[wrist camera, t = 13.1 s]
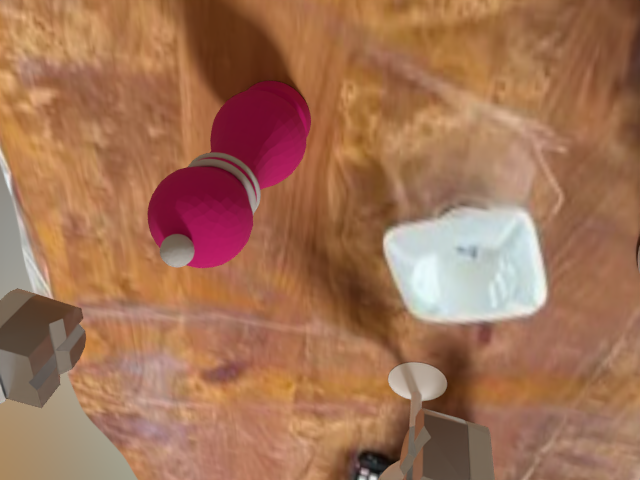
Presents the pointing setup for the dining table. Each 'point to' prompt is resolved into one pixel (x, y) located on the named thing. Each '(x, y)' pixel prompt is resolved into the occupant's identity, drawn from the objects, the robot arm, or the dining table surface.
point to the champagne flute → (414, 396)
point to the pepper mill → (229, 177)
